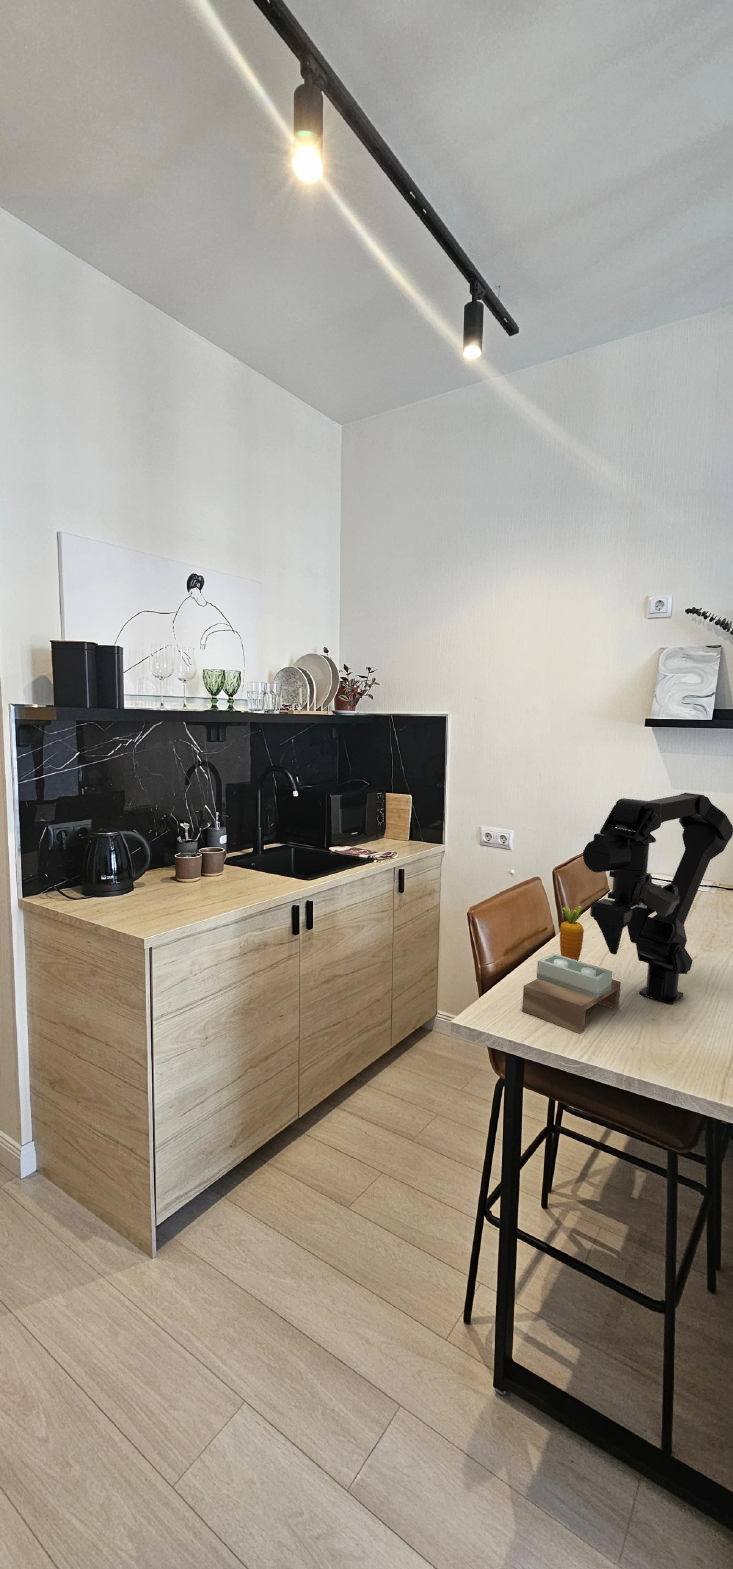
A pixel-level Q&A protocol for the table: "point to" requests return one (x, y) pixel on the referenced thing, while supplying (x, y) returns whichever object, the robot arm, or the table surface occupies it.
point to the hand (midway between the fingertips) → (623, 948)
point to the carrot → (571, 934)
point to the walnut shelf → (564, 1003)
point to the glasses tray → (574, 975)
